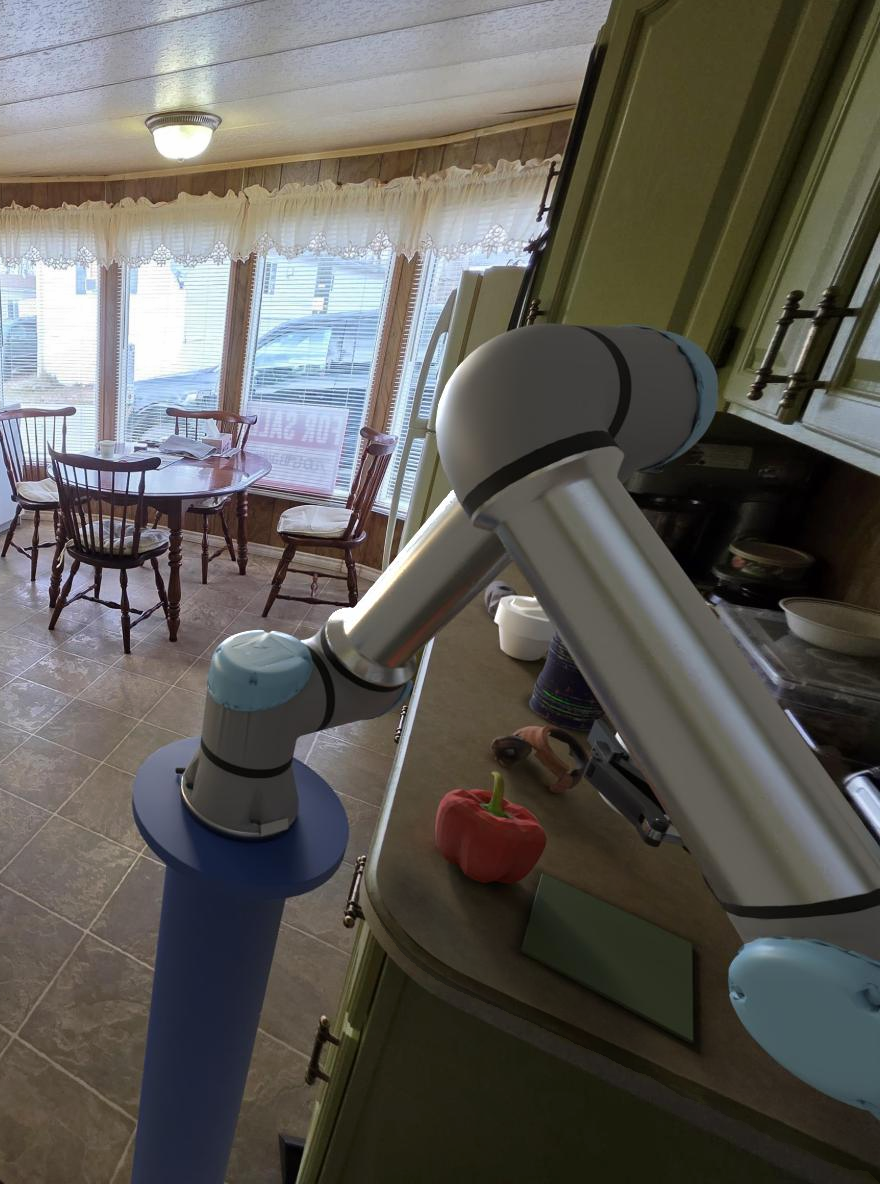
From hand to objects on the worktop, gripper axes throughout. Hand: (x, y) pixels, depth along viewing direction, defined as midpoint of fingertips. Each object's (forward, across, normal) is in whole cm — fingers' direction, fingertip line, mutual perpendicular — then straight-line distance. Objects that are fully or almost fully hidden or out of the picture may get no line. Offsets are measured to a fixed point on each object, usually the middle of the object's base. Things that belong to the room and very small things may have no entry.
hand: (652, 740), depth 69 cm
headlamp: (+15, -4, -17) cm, 23 cm away
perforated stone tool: (+73, +7, -12) cm, 75 cm away
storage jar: (+34, +7, -17) cm, 39 cm away
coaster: (-14, -4, -17) cm, 22 cm away
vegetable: (-6, -14, -17) cm, 23 cm away
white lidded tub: (+54, +6, -17) cm, 57 cm away
